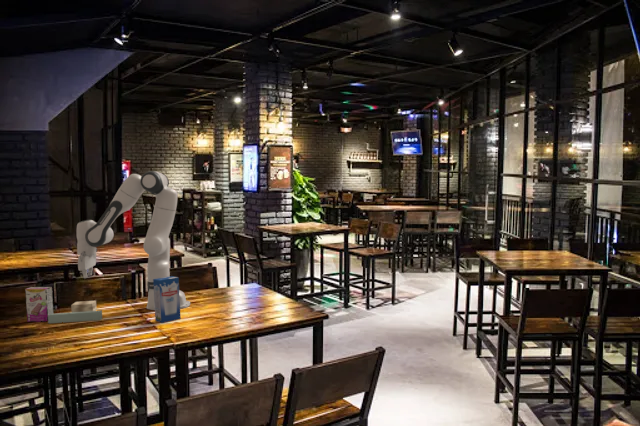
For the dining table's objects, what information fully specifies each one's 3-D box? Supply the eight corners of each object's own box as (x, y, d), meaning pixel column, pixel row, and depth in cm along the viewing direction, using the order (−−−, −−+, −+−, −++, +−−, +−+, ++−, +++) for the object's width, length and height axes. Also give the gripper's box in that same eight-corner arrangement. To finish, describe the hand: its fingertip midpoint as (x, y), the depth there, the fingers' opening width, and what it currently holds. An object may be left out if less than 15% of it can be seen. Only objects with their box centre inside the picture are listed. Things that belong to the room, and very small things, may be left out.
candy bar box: (26, 322, 262) (24, 288, 261) (33, 319, 267) (30, 286, 266) (48, 322, 261) (46, 288, 260) (54, 319, 266) (52, 286, 265)
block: (96, 311, 280) (96, 300, 280) (92, 315, 272) (92, 303, 272) (76, 313, 278) (75, 301, 278) (71, 317, 270) (71, 305, 270)
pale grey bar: (102, 318, 264) (101, 310, 264) (100, 319, 261) (100, 311, 261) (50, 321, 261) (50, 313, 261) (48, 323, 258) (47, 315, 258)
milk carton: (174, 316, 262) (172, 276, 261) (180, 318, 258) (178, 277, 257) (155, 320, 255) (153, 279, 254) (161, 322, 251) (159, 280, 250)
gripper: (87, 252, 274) (88, 279, 274) (97, 248, 294) (99, 273, 295) (74, 253, 273) (75, 280, 273) (85, 248, 293) (87, 273, 294)
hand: (87, 276), depth 284 cm, fingers open, 7 cm apart
